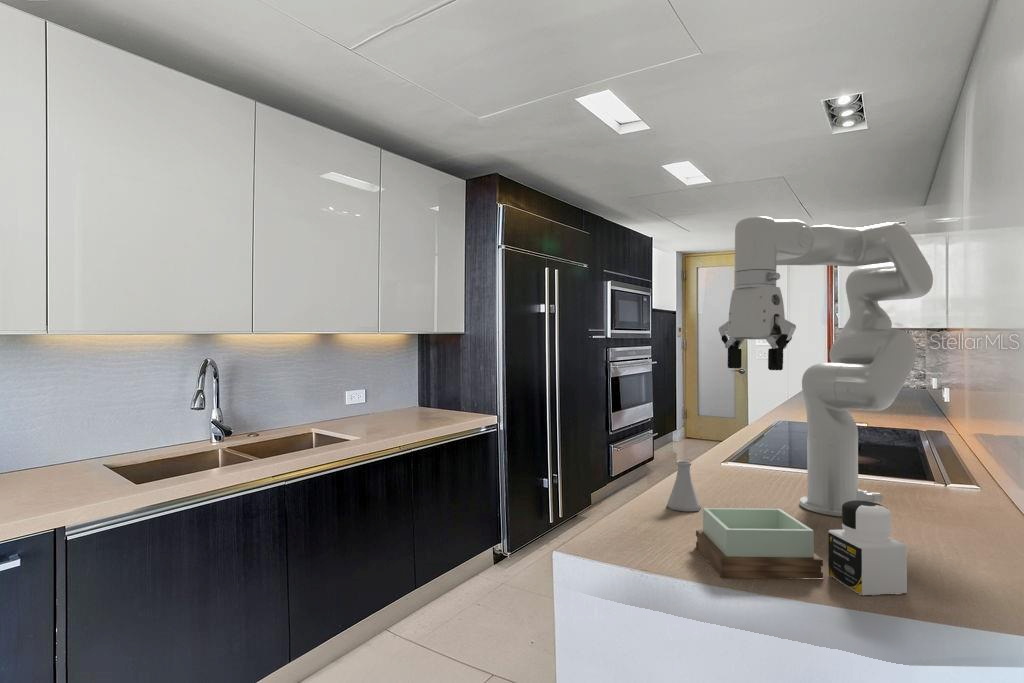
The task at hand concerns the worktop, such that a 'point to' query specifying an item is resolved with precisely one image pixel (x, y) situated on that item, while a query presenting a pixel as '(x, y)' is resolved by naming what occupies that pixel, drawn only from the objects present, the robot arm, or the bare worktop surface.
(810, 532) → the sage crate
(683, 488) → the flask
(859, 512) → the medicine bottle
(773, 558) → the brown wooden flat block
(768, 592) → the worktop surface
